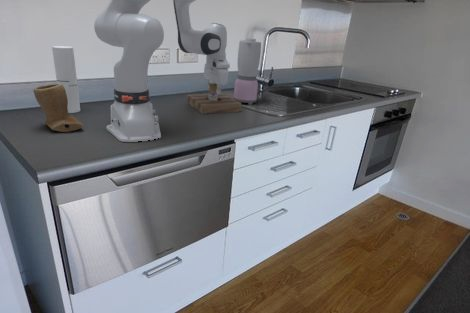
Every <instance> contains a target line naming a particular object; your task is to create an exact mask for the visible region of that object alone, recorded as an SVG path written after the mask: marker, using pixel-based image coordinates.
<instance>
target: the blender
mask: <svg viewBox="0 0 470 313" xmlns="http://www.w3.org/2000/svg"><path fill="white" fill-rule="evenodd" d="M256 40H257V39H256V38H251V37H250V38H249V37H245V39H244V40H242V39H241V40H239V44H238V49H237V50H238V51H237V78H236V79H235V82H234V90H233V99H234V100H236V101H238V102H240V103H248V104H247V105H248V106H253V103H256V102H257V97H258V89H259V88H258V87H259V83H258V79H257V75H258V70H259V67H260V62H261V53H262V43H261V41H256Z"/></svg>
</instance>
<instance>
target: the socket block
mask: <svg viewBox="0 0 470 313" xmlns="http://www.w3.org/2000/svg"><path fill="white" fill-rule="evenodd" d="M186 103H187V104H188V105H189V106H190V107H192V108H193V109H195V110H196V111H197V112H198V113H200V114H201V115H205V114H207V113H209V114H221V113H222V114H223V113H224V112H226V113H239V111H241V112H242V104H243V102H238V101H236V100H234V97H233V98H232V97H231V96H228V95H227V94H225V93H221V94H218V100H217V101H210V100H209V93H208V94H207V93H206V94H205V93H204V94H203V93H202V94H187V95H186ZM224 114H225V113H224Z"/></svg>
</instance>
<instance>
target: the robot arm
mask: <svg viewBox="0 0 470 313" xmlns="http://www.w3.org/2000/svg"><path fill="white" fill-rule="evenodd" d="M150 1H151V0H109V2H108V4H107V6H106V7H105V8H104V10H103V11H102V12H101V13H100V14H98V15H97V17H96V18H95V20H94V25H93V26H94V32H95V35H96V37H97V38H98V40H100V41H102V42H103V43H105V44H108V45H110V46H112V47H117V48H123V52H122V56H121V58H120V59H119V61H117V62H116V63H115V64H114V66H113V79H114V80H113V81H114V89H113V98H114V99H113V100H114V102H113V103H112V104H111V105H110V124H108V125H106V127H105V128H106V130H107V131H108V132H109V133H110V134H111V135H113V137H114V138H116V139H117V140H118V141H119V142H123V143H139V142H138V141H142V142H149V141H148V140H150V141H154V139H156V140H159V139H161V138H162V134H161V130H160V129H161V128H160V124H159V115H155V114H156V109H153V103H152V102H150V101H151V99H150V97H151V96H150V91H149V88H148V86H149V85H148V76H149V74H148V73H149V65H150V61H151V58H152V56H153V54H154V53H155V52H156V50H158V49H159V48H160V47H161V46H162V44H163V42H164V40H165V39H164V37H165V31H164V28H163V25H162V24H161V21H159V20H158V19H157V18H155V17H152V16H150V15H148V14H147V15H146V14H141V13H140V11H141V10H142V8H143V7H144V6H145V5H147V4H148V3H149V2H150ZM172 1H173V9H174V14H175V22H176V29H177V44H178V47H179V49H180V50H181V51H182V53H185V54H196V55H203V56H206V61H205V62H206V63H205V64H204V66H203V67H204V69H203V78H204V79H206V80H207V88H208V90H209V79H211V80H212V82H214V83H216V84H217V90H216V93H217V94H222V89H223V87H224V86H227V85H228V83H229V69H230V67H231V66H230V64H231V63H230V62H229V61H228V60H227V57H226V56H227V54H226V49H227V45H228V31H227V27H226V26H225V25H224V24H221V23H217V22H211V23H209V24H208V26H207V28H205V29H202V30H195V29H194V28H193V27H192V26H191V17H190V16H191V15H190V5H191V4H192V3H194V2H196V0H172ZM158 138H159V139H158Z"/></svg>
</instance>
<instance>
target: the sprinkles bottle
mask: <svg viewBox="0 0 470 313" xmlns="http://www.w3.org/2000/svg"><path fill="white" fill-rule="evenodd" d="M216 90H217V84H216V83H214V82H212V80H211V79H209V89H208V94H209V100H210V101H217V100H218V94H217V93H216Z"/></svg>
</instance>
